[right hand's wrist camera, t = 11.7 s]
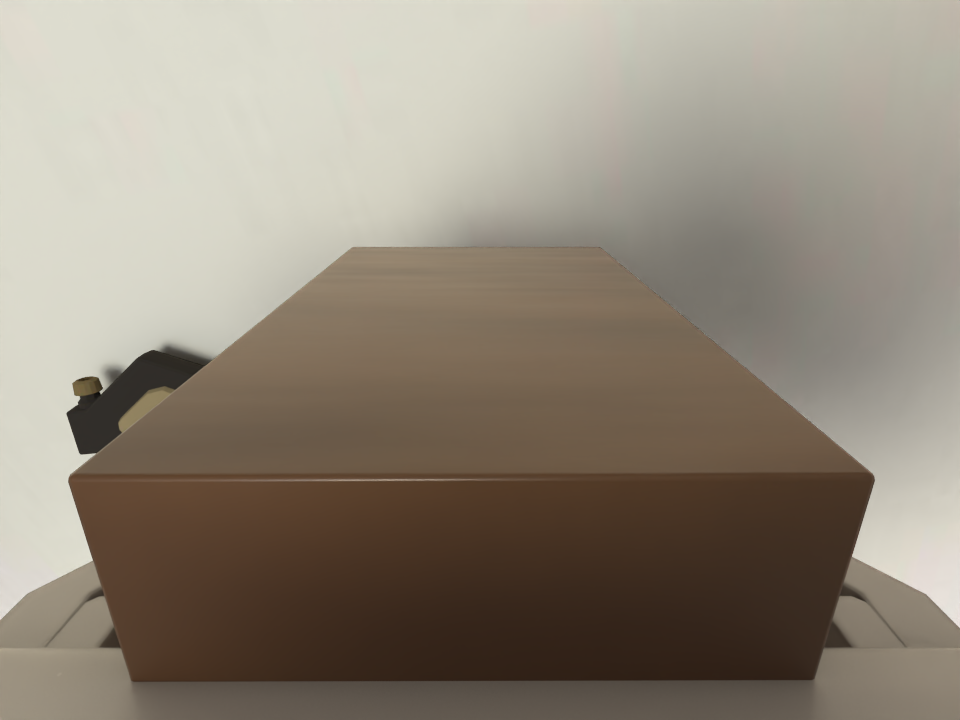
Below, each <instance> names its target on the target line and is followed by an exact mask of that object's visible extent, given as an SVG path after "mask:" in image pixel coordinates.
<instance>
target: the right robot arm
mask: <svg viewBox="0 0 960 720" xmlns="http://www.w3.org/2000/svg"><path fill="white" fill-rule="evenodd" d="M0 720H960V628H959V627H958V626H957V625H956V624H955V623H954V622H953V621H952V620H951V619H950V618H949V617H948V616H947V615H946V614H945V613H944V612H943V611H942V610H941V609H940V608H939V607H938V606H937V605H936V604H935V603H934V602H933V601H932V600H931V599H930V598H929V597H928V596H927V595H926V594H924V593H922V592H920V591H918V590H916V589H914V588H912V587H910V586H908V585H906V584H904V583H902V582H900V581H898V580H897V579H895V578H893V577H891V576H889V575H887V574H885V573H883V572H881V571H879V570H877V569H875V568H873V567H871V566H869V565H867V564H865V563H863V562H861V561H859V560H857V559H855V558H853V557H851V561H850V564H849V567H848V570H847V574H846V577H845V580H844V584H843V587H842V590H841V593H840V597H839V600H838V603H837V607H836V610H835V613H834V617H833V620H832V623H831V626H830V630H829V633H828V636H827V640H826V643H825V646H824V649H823V653H822V656H821V659H820V663H819V666H818V669H817V673H816V676H815V679H813V680H665V681H255V682H133V681H131V679H130V676H129V673H128V670H127V666H126V663H125V660H124V657H123V654H122V651H121V647H120V644H119V641H118V638H117V635H116V632H115V628H114V625H113V622H112V619H111V616H110V612H109V609H108V606H107V603H106V600H105V597H104V593H103V590H102V587H101V584H100V581H99V578H98V574H97V571H96V568H95V565H94V562H93V561H92V562H90V563H88V564H86V565H84V566H82V567H80V568H78V569H76V570H74V571H72V572H70V573H68V574H66V575H64V576H62V577H60V578H58V579H56V580H54V581H52V582H50V583H48V584H46V585H44V586H42V587H40V588H38V589H36V590H34V591H32V592H30V593H28V594H27V595H26V596H25V597H24V598H23V599H22V600H21V601H20V602H19V603H17V604H16V605H15V606H14V607H13V608H12V609H11V610H10V611H9V612H8V613H7V614H6V615H5V616H4V617H3V618H2V619H1V620H0Z"/></svg>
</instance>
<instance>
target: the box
mask: <svg viewBox="0 0 960 720" xmlns="http://www.w3.org/2000/svg"><path fill="white" fill-rule="evenodd" d="M874 481H875V479H874V475H873V474H872V473H871V472H870V471H869V470H868V469H866V468H865V467H864V466H863V465H862V464H860V463H859V462H858V461H857V460H855V459H854V458H853V457H852V456H851V455H849V454H848V453H847V452H846V451H845V450H843V449H842V448H841V447H840V446H839V445H837V444H836V443H835V442H834V441H833V440H831V439H830V438H829V437H828V436H827V435H825V434H824V433H823V432H822V431H821V430H819V429H818V428H817V427H816V426H815V425H813V424H812V423H811V422H810V421H809V420H807V419H806V418H805V417H804V416H803V415H801V414H800V413H799V412H798V411H797V410H795V409H794V408H793V407H792V406H791V405H789V404H788V403H787V402H786V401H784V400H783V399H782V398H781V397H780V396H778V395H777V394H776V393H775V392H774V391H772V390H771V389H770V388H769V387H768V386H766V385H765V384H764V383H763V382H762V381H760V380H759V379H758V378H757V377H756V376H754V375H753V374H752V373H751V372H750V371H748V370H747V369H746V368H745V367H744V366H742V365H741V364H740V363H739V362H738V361H736V360H735V359H734V358H733V357H732V356H730V355H729V354H728V353H727V352H726V351H724V350H723V349H722V348H721V347H719V346H718V345H717V344H716V343H715V342H713V341H712V340H711V339H710V338H709V337H707V336H706V335H705V334H704V333H703V332H701V331H700V330H699V329H698V328H697V327H695V326H694V325H693V324H692V323H691V322H689V321H688V320H687V319H686V318H685V317H683V316H682V315H681V314H680V313H679V312H677V311H676V310H675V309H674V308H673V307H671V306H670V305H669V304H668V303H667V302H665V301H664V300H663V299H662V298H661V297H659V296H658V295H657V294H656V293H655V292H653V291H652V290H651V289H650V288H648V287H647V286H646V285H645V284H644V283H642V282H641V281H640V280H639V279H638V278H636V277H635V276H634V275H633V274H632V273H630V272H629V271H628V270H627V269H626V268H624V267H623V266H622V265H621V264H620V263H618V262H617V261H616V260H615V259H614V258H612V257H611V256H610V255H609V254H608V253H606V252H605V251H604V250H603V249H602V248H600V247H352V248H351V249H350V250H348V251H347V252H346V253H345V254H343V255H342V256H341V257H340V258H339V259H337V260H336V261H335V262H334V263H332V264H331V265H330V266H329V267H327V268H326V269H325V270H324V271H322V272H321V273H320V274H319V275H317V276H316V277H315V278H314V279H312V280H311V281H310V282H309V283H307V284H306V285H305V286H304V287H303V288H301V289H300V290H299V291H298V292H296V293H295V294H294V295H293V296H291V297H290V298H289V299H288V300H286V301H285V302H284V303H283V304H281V305H280V306H279V307H278V308H276V309H275V310H274V311H273V312H272V313H270V314H269V315H268V316H267V317H265V318H264V319H263V320H262V321H260V322H259V323H258V324H257V325H255V326H254V327H253V328H252V329H250V330H249V331H248V332H247V333H245V334H244V335H243V336H242V337H241V338H239V339H238V340H237V341H236V342H234V343H233V344H232V345H231V346H229V347H228V348H227V349H226V350H224V351H223V352H222V353H221V354H219V355H218V356H217V357H216V358H214V359H213V360H212V361H211V362H209V363H208V364H207V365H206V366H205V367H203V368H202V369H201V370H200V371H198V372H197V373H196V374H195V375H193V376H192V377H191V378H190V379H188V380H187V381H186V382H185V383H183V384H182V385H181V386H180V387H178V388H177V389H176V390H175V391H174V392H172V393H171V394H170V395H169V396H167V397H166V398H165V399H164V400H162V401H161V402H160V403H159V404H157V405H156V406H155V407H154V408H152V409H151V410H150V411H149V412H147V413H146V414H145V415H144V416H142V417H141V418H140V419H139V420H138V421H136V422H135V423H134V424H133V425H131V426H130V427H129V428H128V429H126V430H125V431H124V432H123V433H121V434H120V435H119V436H118V437H116V438H115V439H114V440H113V441H111V442H110V443H109V444H108V445H107V446H105V447H104V448H103V449H102V450H100V451H99V452H98V453H97V454H95V455H94V456H93V457H92V458H90V459H89V460H88V461H87V462H85V463H84V464H83V465H82V466H80V467H79V468H78V469H77V470H76V471H74V472H73V473H72V474H71V475H70V476H69V480H68V482H69V485H70V489H71V492H72V495H73V498H74V501H75V505H76V508H77V511H78V514H79V517H80V520H81V524H82V527H83V530H84V533H85V536H86V539H87V543H88V546H89V549H90V552H91V555H92V558H93V562H94V565H95V568H96V571H97V574H98V578H99V581H100V584H101V587H102V590H103V593H104V597H105V600H106V603H107V606H108V609H109V612H110V616H111V619H112V622H113V625H114V628H115V632H116V635H117V638H118V641H119V644H120V647H121V651H122V654H123V657H124V660H125V663H126V666H127V670H128V673H129V676H130V679H131V681H133V682H255V681H665V680H813V679H815V676H816V673H817V669H818V666H819V663H820V659H821V656H822V653H823V649H824V646H825V643H826V640H827V636H828V633H829V630H830V626H831V623H832V620H833V617H834V613H835V610H836V607H837V603H838V600H839V597H840V593H841V590H842V587H843V584H844V580H845V577H846V574H847V570H848V567H849V564H850V561H851V557H852V554H853V551H854V547H855V544H856V541H857V537H858V534H859V531H860V528H861V524H862V521H863V518H864V514H865V511H866V508H867V505H868V501H869V498H870V495H871V491H872V488H873V485H874Z"/></svg>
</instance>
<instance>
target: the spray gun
mask: <svg viewBox="0 0 960 720" xmlns="http://www.w3.org/2000/svg"><path fill="white" fill-rule="evenodd" d="M203 367H205V366H203V365H200V364H197V363H193V362H190V361H187V360H184V359H181V358H177V357H174V356H171V355H168V354H165V353H161V352H158V351H155V350H151V351H149V352H147V353H144V354H143V355H141V356H140V357H138V358H137V359H136V360H135V361H134V362H133V363H132V364H131V365H130V366H129V367H128V368H127V369H126V370H125V371H124V372H123V373H122V374H121V375H120V376H119V377H118V378H117V379H116V380H115V381H114V382H113V383H112V384H111V385H110V386H109V387H108V388H107V389H106V390H105V391H104V392H103V393H102V394H100V392H99V391H101V390H102V389H103V387H102V385H101V383H100V380H99V378H97V377H85V378H81V379H78V380H76V381H75V382H74V383H72V384H73V389H74V394H75V395H76V396H80V400H79V402H78V405H77V406H75V407H74V408H73V409H71V410H70V411H68V412H67V417H68V420H69V423H70V426H71V429H72V432H73V435H74V438H75V441H76V444H77V447H78V450H79V453H80V454H92V453H96V454H97V453H98V452H99V451H100V450H102V449H103V448H104V447H105V446H107V445H108V444H109V443H110V442H111V441H113V440H114V439H115V438H116V437H118V436H119V435H120V434H121V433H123V432H124V431H125V430H126V429H128V428H129V427H130V426H131V425H133V424H134V423H135V422H136V421H138V420H139V419H140V418H141V417H142V416H144V415H145V414H146V413H147V412H149V411H150V410H151V409H152V408H154V407H155V406H156V405H157V404H159V403H160V402H161V401H162V400H164V399H165V398H166V397H167V396H169V395H170V394H171V393H172V392H174V391H175V390H176V389H177V388H178V387H180V386H181V385H182V384H183V383H185V382H186V381H187V380H188V379H190V378H191V377H192V376H193V375H195V374H196V373H197V372H198V371H200V370H201V369H202V368H203Z"/></svg>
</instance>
